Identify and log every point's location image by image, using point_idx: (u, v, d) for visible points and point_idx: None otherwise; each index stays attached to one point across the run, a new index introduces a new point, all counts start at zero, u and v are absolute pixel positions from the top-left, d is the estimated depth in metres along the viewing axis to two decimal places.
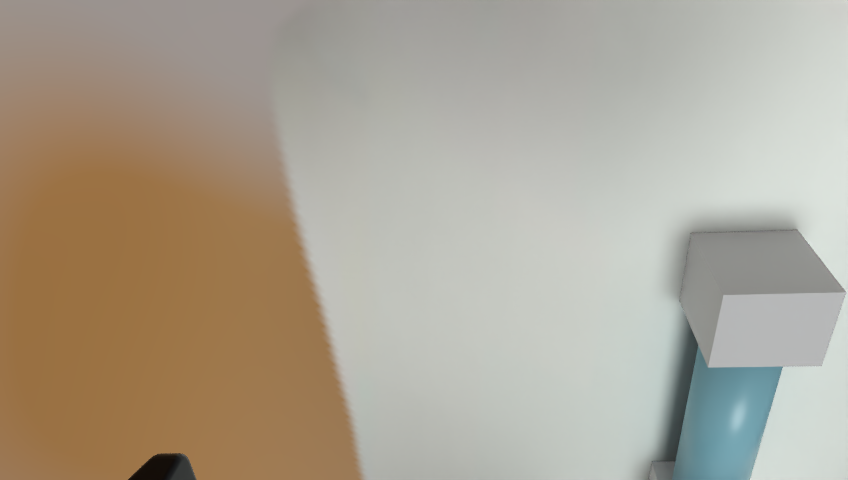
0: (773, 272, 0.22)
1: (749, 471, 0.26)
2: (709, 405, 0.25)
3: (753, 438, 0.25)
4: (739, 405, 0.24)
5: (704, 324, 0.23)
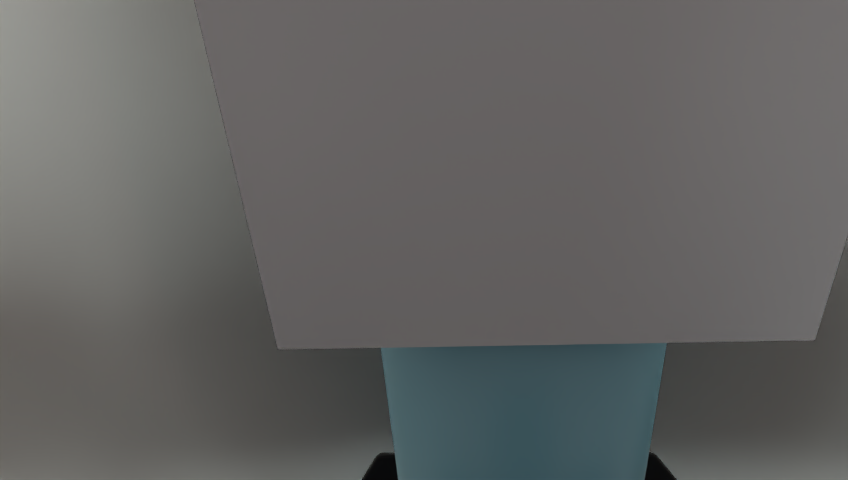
0: None
1: None
2: None
3: None
4: None
5: None
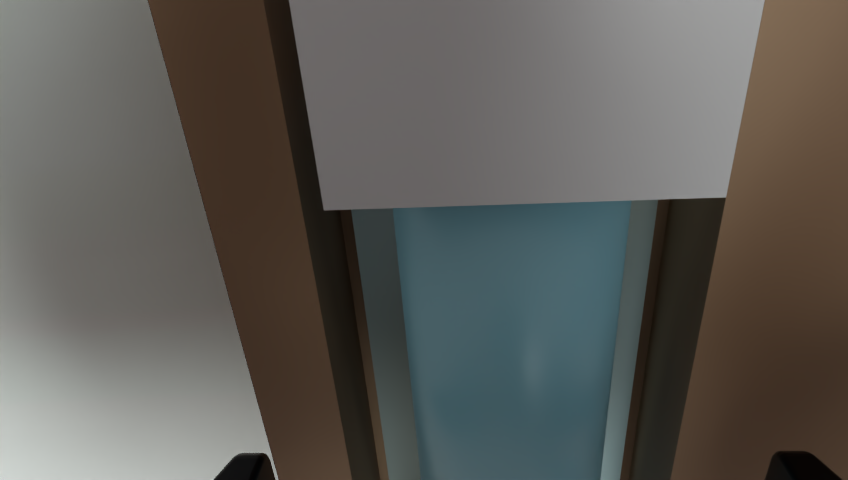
0: None
1: None
2: (426, 361, 0.08)
3: (561, 456, 0.09)
4: (491, 357, 0.08)
5: None
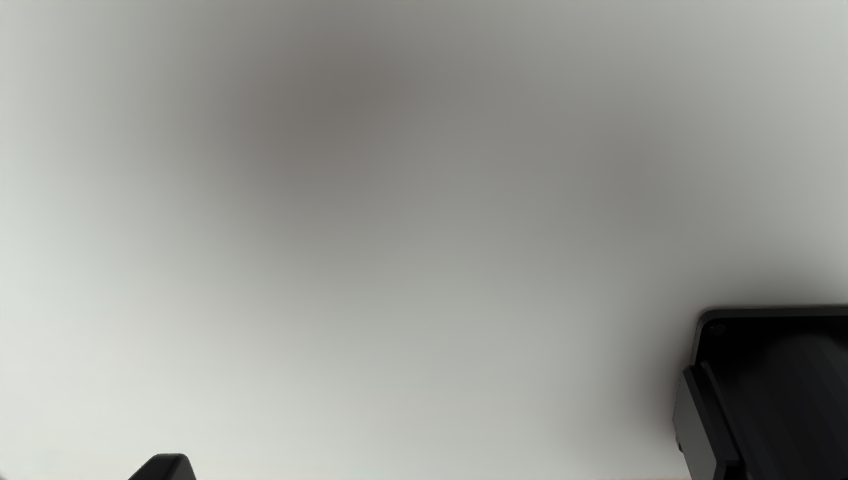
0: None
1: None
2: None
3: None
4: None
5: None
